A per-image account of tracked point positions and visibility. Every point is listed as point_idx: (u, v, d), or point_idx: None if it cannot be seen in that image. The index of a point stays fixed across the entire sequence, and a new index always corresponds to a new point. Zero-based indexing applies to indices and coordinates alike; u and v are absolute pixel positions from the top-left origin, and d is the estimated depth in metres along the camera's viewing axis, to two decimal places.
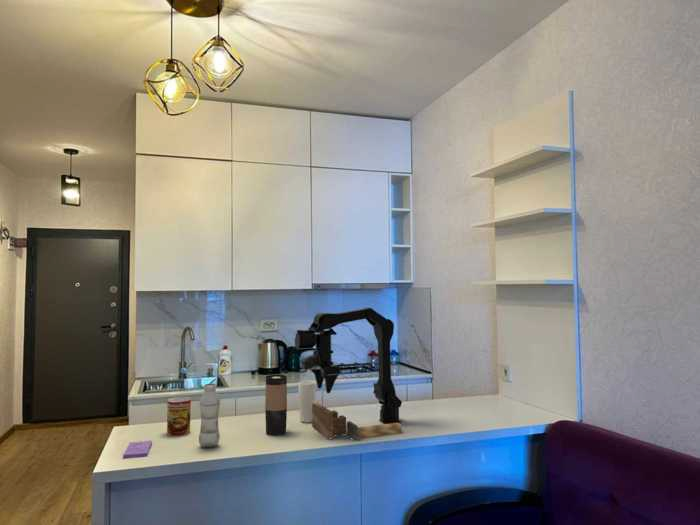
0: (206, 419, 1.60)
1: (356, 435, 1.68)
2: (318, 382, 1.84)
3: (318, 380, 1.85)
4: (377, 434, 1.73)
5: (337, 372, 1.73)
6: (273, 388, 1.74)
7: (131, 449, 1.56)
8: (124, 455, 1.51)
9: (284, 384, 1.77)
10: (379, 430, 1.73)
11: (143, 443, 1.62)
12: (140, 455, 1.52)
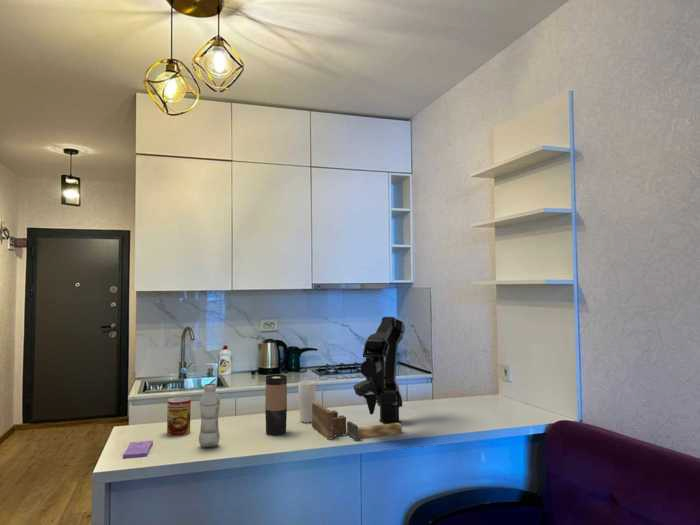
0: (206, 419, 1.60)
1: (356, 435, 1.68)
2: (370, 408, 1.79)
3: (370, 406, 1.79)
4: (377, 434, 1.73)
5: (394, 399, 1.67)
6: (273, 388, 1.74)
7: (131, 449, 1.56)
8: (124, 455, 1.51)
9: (284, 384, 1.77)
10: (379, 430, 1.73)
11: (144, 443, 1.62)
12: (140, 455, 1.52)
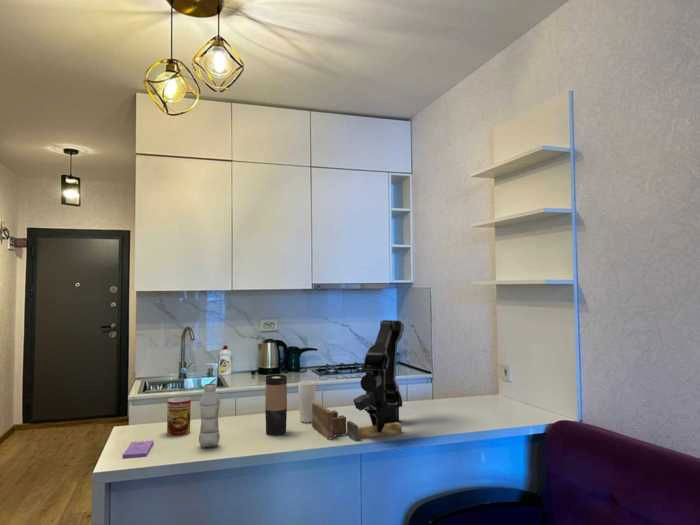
0: (206, 419, 1.60)
1: (356, 435, 1.68)
2: (374, 423, 1.76)
3: (373, 421, 1.76)
4: (377, 434, 1.73)
5: (394, 414, 1.67)
6: (273, 388, 1.74)
7: (131, 449, 1.56)
8: (123, 455, 1.51)
9: (285, 384, 1.77)
10: None
11: (144, 443, 1.62)
12: (139, 455, 1.52)
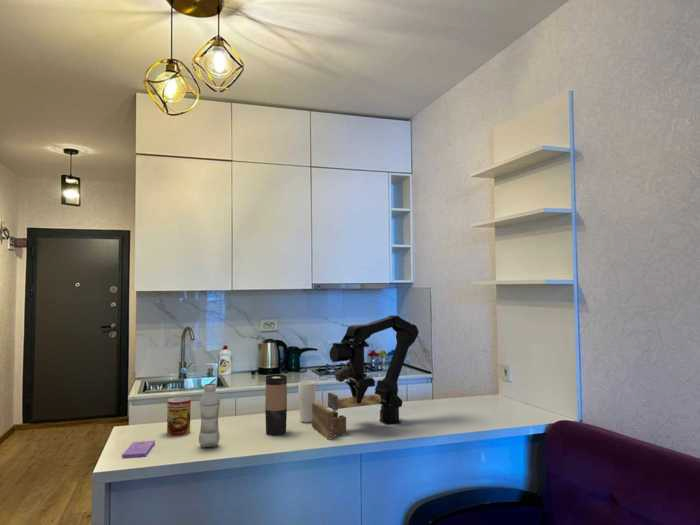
0: (206, 419, 1.60)
1: (336, 405, 1.76)
2: (354, 395, 1.84)
3: (353, 393, 1.84)
4: (357, 404, 1.81)
5: (372, 384, 1.75)
6: (273, 388, 1.74)
7: (132, 449, 1.56)
8: (123, 455, 1.51)
9: (284, 384, 1.77)
10: None
11: (145, 443, 1.62)
12: (139, 455, 1.52)
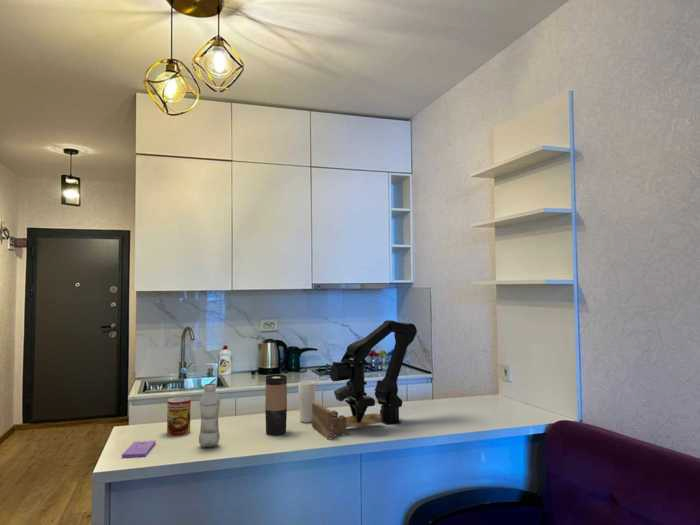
0: (206, 419, 1.60)
1: None
2: (354, 414, 1.84)
3: (353, 412, 1.84)
4: (356, 424, 1.81)
5: (372, 404, 1.75)
6: (273, 388, 1.74)
7: (132, 449, 1.56)
8: (123, 455, 1.51)
9: (284, 384, 1.77)
10: None
11: (146, 443, 1.62)
12: (138, 455, 1.52)
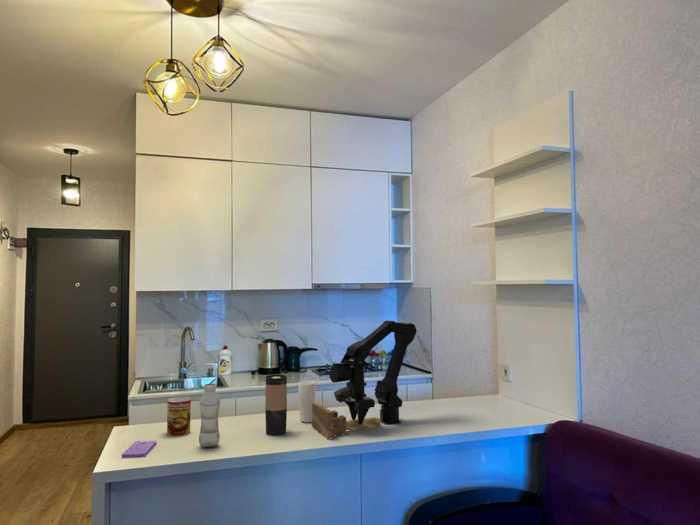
0: (206, 419, 1.60)
1: None
2: (352, 414, 1.85)
3: (352, 412, 1.85)
4: (356, 428, 1.81)
5: (372, 405, 1.75)
6: (273, 388, 1.74)
7: (132, 449, 1.56)
8: (123, 455, 1.52)
9: (285, 384, 1.77)
10: (358, 424, 1.81)
11: (147, 443, 1.62)
12: (138, 455, 1.52)
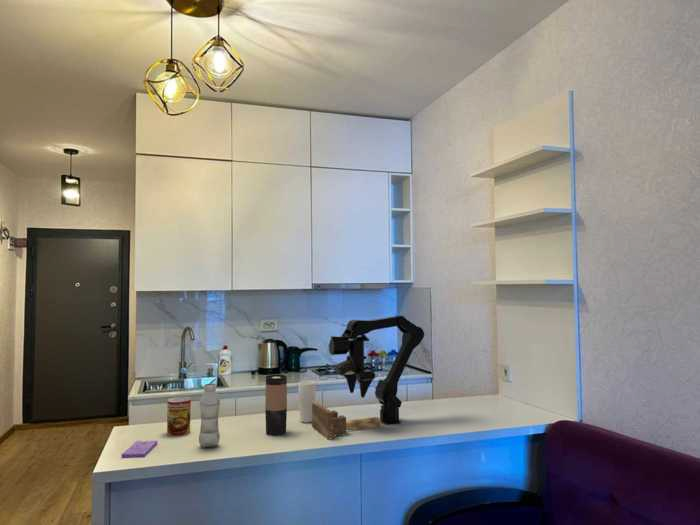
0: (206, 419, 1.60)
1: None
2: (350, 387, 1.90)
3: (350, 385, 1.91)
4: (356, 428, 1.81)
5: (372, 377, 1.79)
6: (273, 388, 1.74)
7: (132, 448, 1.56)
8: (122, 454, 1.52)
9: (284, 384, 1.77)
10: (358, 424, 1.81)
11: (147, 443, 1.62)
12: (138, 455, 1.52)
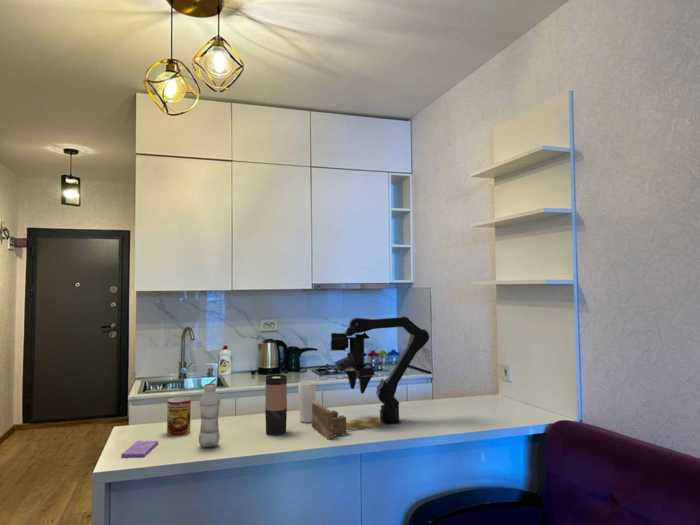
0: (206, 419, 1.60)
1: None
2: (351, 383, 1.95)
3: (351, 381, 1.95)
4: (356, 428, 1.81)
5: (371, 374, 1.83)
6: (273, 388, 1.74)
7: (133, 448, 1.57)
8: (122, 454, 1.52)
9: (285, 384, 1.77)
10: (358, 424, 1.81)
11: (148, 443, 1.62)
12: (137, 455, 1.52)
